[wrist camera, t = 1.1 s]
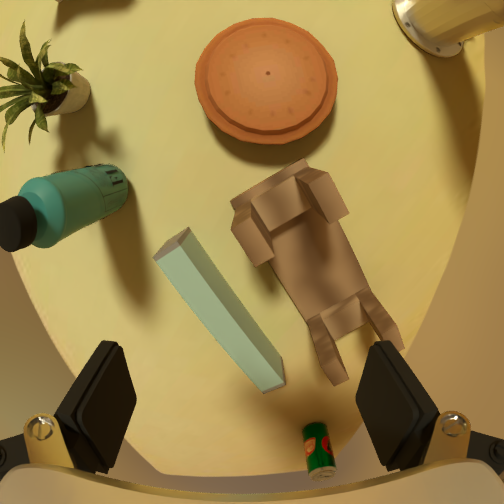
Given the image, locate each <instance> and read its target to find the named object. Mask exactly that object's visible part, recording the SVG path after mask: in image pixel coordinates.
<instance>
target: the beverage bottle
mask: <svg viewBox="0 0 504 504" xmlns="http://www.w3.org/2000/svg"><path fill="white" fill-rule="evenodd" d="M108 164H109V163H108ZM98 165H99V166H98ZM98 165H94V166H93V165H92V167H91V166H85V168H81V169H76V170H70V171H65V172H60V171H59V172H60V173H57V172H56V173H54V174H52V175H48V176H44V177H36V178H33V179H30V180H29V181H27V182H26V183H25V184H24V185H23V186H22V188H21V190H20V192H19V194H18V196H15V197H12V198H10V199H8V200H6V201H4V202H2V203H0V246H1V247H2V248H3V249H4V250H5V251H8V252H15V251H17V250H19V249H22V248H25V247H27V246H29V245H31V244H32V245H34V246H36V247H38V248H49V247H52V246H54V245H55V244H56V243H57V242H59V241H61V240H62V239H64V238H66V237H67V236H69V235H71V234H73V233H74V232H76V231H78V230H80V229H82V228H83V227H84V228H85V226H87V225H88V226H89V224H91V225H92V223H94V222H97V220H99V219H100V220H101V219H102V218H103V217H104V218H105V216H106V217H107V215H109V214H111V213H113V212H115V211H117V210H118V209H119V208H121V206H122V205H123V204H124V202H125V200H126V199H127V195H128V182H127V179H126V176H125V175H124V173H123V172H122V171H121V170H120V169H119V168H117V166H116V167H115V166H113V164H112V165H111V164H110V165H107V164H106V165H102V164H98ZM86 167H87V168H86ZM104 218H103V219H104ZM100 220H99V221H100Z"/></svg>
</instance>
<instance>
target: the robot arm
mask: <svg viewBox="0 0 504 504" xmlns="http://www.w3.org/2000/svg"><path fill="white" fill-rule="evenodd" d="M392 7H393V12H394V15H395V17H396V20H397V22H398V23H399V25H400V27H401V28H402V30H403V31H404V32H405V33H406V35H407V36H408V37H409V38H410V39H411V40H412V41H413V42H414V43H415V44H416V45H418V46H419V47H420V48H421V49H423V50H424V51H426V52H428V53H430V54H432V55H434V56H438V57H443V58H447V57H452V56H454V55H457V54H458V53H459V52H460V51H461V49H462V47H463V43H464V40H467V39H469V38H472V37H475V36H477V35H480V34H483V33H486V32H489V31H492V30H495V29H497V28H501V27H504V0H392ZM136 401H137V398H136V393H135V390H134V387H133V384H132V380H131V377H130V374H129V370H128V367H127V363H126V359H125V356H124V352H123V348H122V347H121V346H119V345H118V343H117V342H114V341H105V340H103V341H101V343H100V344H99V345H98V347H97V348H96V350H95V351H94V353H93V354H92V356H91V357H90V359H89V360H88V362H87V363H86V365H85V366H84V368H83V369H82V371H81V372H80V374H79V375H78V377H77V379H76V380H75V382H74V383H73V385H72V387H71V388H70V390H69V391H68V393H67V394H66V396H65V398H64V399H63V401H62V402H61V404H60V406H59V407H58V409H57V411H56V412H55V414H54V416H52V415H49V414H44V413H41V414H36V415H34V416H32V417H30V418H29V419H28V420H27V421H26V423H25V425H24V428H23V434H20V435H17V436H14V437H10V438H7V439H4V440H1V441H0V504H504V440H503V439H499V438H496V437H492V436H489V435H485V434H481V433H478V432H475V431H471V424H470V422H469V420H468V418H467V417H466V416H464V415H463V414H461V413H459V412H457V411H446V412H444V413H442V414H440V413H439V411H438V408H437V407H436V405H435V404H434V402H433V401H432V399H431V398H430V396H429V395H428V393H427V392H426V390H425V389H424V387H423V386H422V384H421V383H420V382H419V380H418V379H417V377H416V376H415V374H414V373H413V372H412V370H411V369H410V367H409V366H408V364H407V363H406V362H405V360H404V359H403V357H402V356H401V355H400V353H399V352H398V350H397V349H396V348H395V346H394V345H393V344H392V342H391V341H390V340H385V341H377V342H375V343H374V345H373V346H371V347H370V349H369V352H368V356H367V360H366V363H365V367H364V370H363V374H362V377H361V380H360V383H359V387H358V390H357V393H356V404H357V406H358V408H359V411H360V413H361V416H362V418H363V420H364V423H365V425H366V428H367V430H368V433H369V435H370V437H371V440H372V443H373V445H374V448H375V450H376V453H377V455H378V458H379V460H380V463H381V464H382V465H383V466H386V468H387V471H388V472H389V471H392V470H395V469H399V468H400V472H396V473H392V474H389V475H385V476H381V477H377V478H373V479H368V480H364V481H360V482H355V483H350V484H345V485H339V486H334V487H328V488H321V489H314V490H305V491H296V492H285V493H270V494H269V493H268V494H217V493H201V492H189V491H180V490H171V489H164V488H158V487H152V486H146V485H140V484H136V483H131V482H126V481H120V480H116V479H112V478H108V477H104V476H100V475H96V474H95V473H96V471H98V472H101V473H105V474H108V470H109V468H113V467H114V464H115V461H116V458H117V455H118V453H119V449H120V447H121V444H122V441H123V438H124V435H125V433H126V430H127V427H128V424H129V422H130V419H131V416H132V413H133V411H134V408H135V405H136Z"/></svg>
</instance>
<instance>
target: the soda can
mask: <svg viewBox="0 0 504 504" xmlns="http://www.w3.org/2000/svg"><path fill="white" fill-rule="evenodd" d="M302 435H303V442H304V448H305V455H306V462H307V469H308V475H309V476H310V477H311V479H312V480H313V481H324V480H328V479H330V478H332V477H334V475H335V471H336V465H335V460H334V455H333V451H332V446H331V442H330V438H329V433H328V429H327V426H326V425H324V424H322V423H312V424H309V425H307V426H306V427H305V428H304V429H303V431H302Z"/></svg>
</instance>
